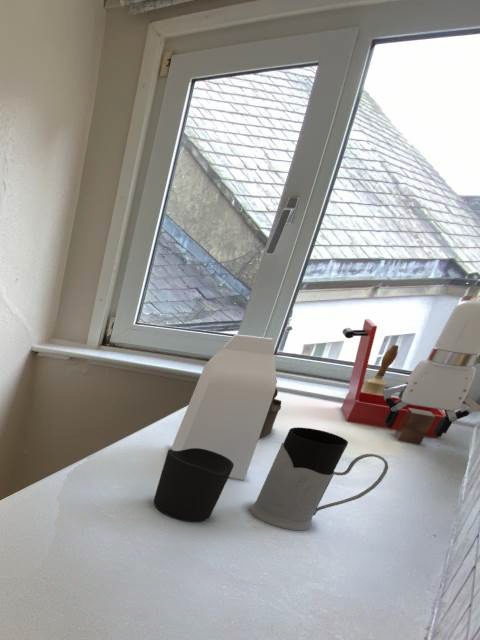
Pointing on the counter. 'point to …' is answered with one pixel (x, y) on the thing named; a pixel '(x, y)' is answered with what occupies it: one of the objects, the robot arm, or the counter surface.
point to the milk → (231, 402)
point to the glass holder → (303, 478)
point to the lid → (361, 355)
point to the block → (414, 426)
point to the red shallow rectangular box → (381, 411)
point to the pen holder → (191, 483)
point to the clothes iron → (271, 415)
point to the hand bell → (380, 373)
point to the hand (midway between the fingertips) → (412, 430)
